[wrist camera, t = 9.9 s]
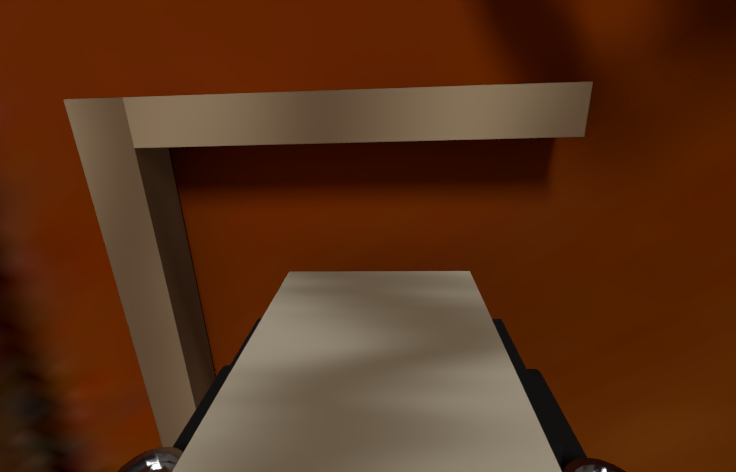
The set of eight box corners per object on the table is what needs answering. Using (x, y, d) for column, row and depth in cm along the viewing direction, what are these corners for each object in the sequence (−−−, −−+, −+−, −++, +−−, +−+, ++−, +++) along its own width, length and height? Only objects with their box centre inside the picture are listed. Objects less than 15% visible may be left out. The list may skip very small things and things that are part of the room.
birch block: (469, 271, 10) (610, 575, 4) (459, 414, 12) (544, 795, 5) (289, 271, 11) (125, 552, 4) (304, 410, 12) (207, 768, 6)
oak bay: (564, 84, 10) (592, 81, 8) (510, 480, 15) (523, 521, 13) (107, 99, 11) (64, 99, 9) (199, 471, 16) (180, 509, 14)
